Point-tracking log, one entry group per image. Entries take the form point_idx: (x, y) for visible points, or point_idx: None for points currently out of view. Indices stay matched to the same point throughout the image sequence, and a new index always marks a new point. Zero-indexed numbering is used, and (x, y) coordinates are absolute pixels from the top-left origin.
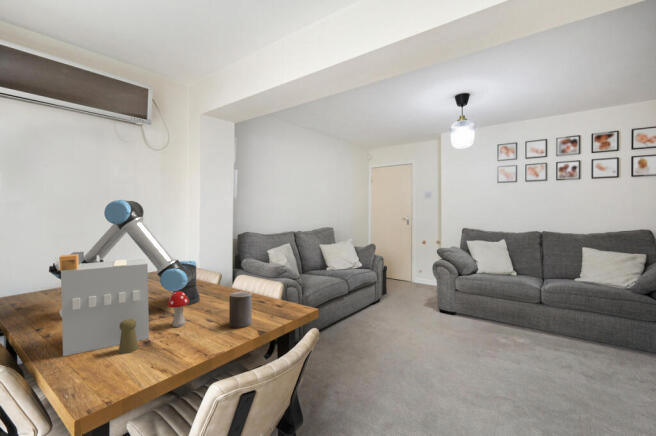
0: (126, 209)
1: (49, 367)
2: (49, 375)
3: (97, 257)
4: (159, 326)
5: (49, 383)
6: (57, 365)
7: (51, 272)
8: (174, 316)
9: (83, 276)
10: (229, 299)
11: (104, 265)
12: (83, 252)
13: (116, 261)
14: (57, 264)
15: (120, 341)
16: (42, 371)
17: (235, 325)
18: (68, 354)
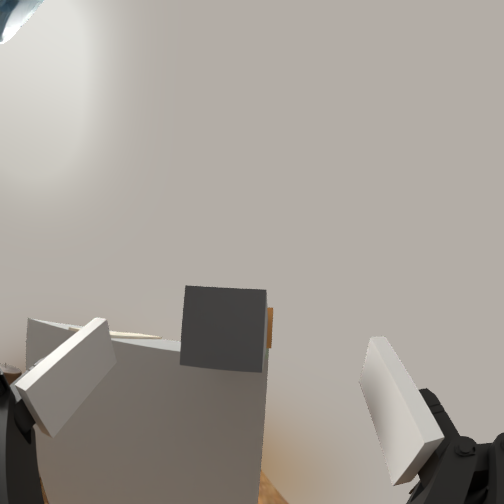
0: (30, 15)
1: (270, 498)
2: (265, 482)
3: (105, 333)
4: (46, 499)
5: (261, 470)
6: (259, 498)
7: (476, 500)
8: None
9: None
10: (13, 381)
11: (167, 342)
12: (187, 293)
13: (114, 334)
14: (366, 389)
15: None
16: (277, 492)
17: None
18: None
